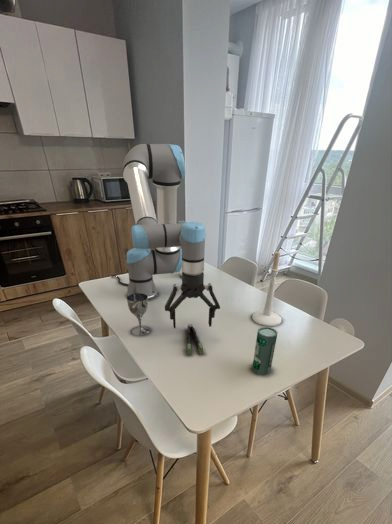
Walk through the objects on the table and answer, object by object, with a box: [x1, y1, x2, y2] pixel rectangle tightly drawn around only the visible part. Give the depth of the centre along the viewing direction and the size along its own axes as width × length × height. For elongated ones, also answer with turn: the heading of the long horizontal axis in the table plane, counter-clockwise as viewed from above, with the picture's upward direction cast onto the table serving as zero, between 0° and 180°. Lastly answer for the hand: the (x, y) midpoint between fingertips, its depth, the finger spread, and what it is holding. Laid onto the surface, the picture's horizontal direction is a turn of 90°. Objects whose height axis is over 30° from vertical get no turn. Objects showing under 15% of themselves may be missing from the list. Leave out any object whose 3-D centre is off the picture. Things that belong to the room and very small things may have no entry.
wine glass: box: [126, 293, 151, 336], centre depth 119 cm, size 8×8×15 cm
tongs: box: [187, 323, 204, 356], centre depth 116 cm, size 19×6×3 cm, turn 7°
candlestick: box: [251, 251, 282, 327], centre depth 125 cm, size 13×13×30 cm
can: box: [251, 326, 279, 376], centre depth 98 cm, size 6×6×15 cm
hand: (192, 325), depth 113 cm, fingers open, 13 cm apart
